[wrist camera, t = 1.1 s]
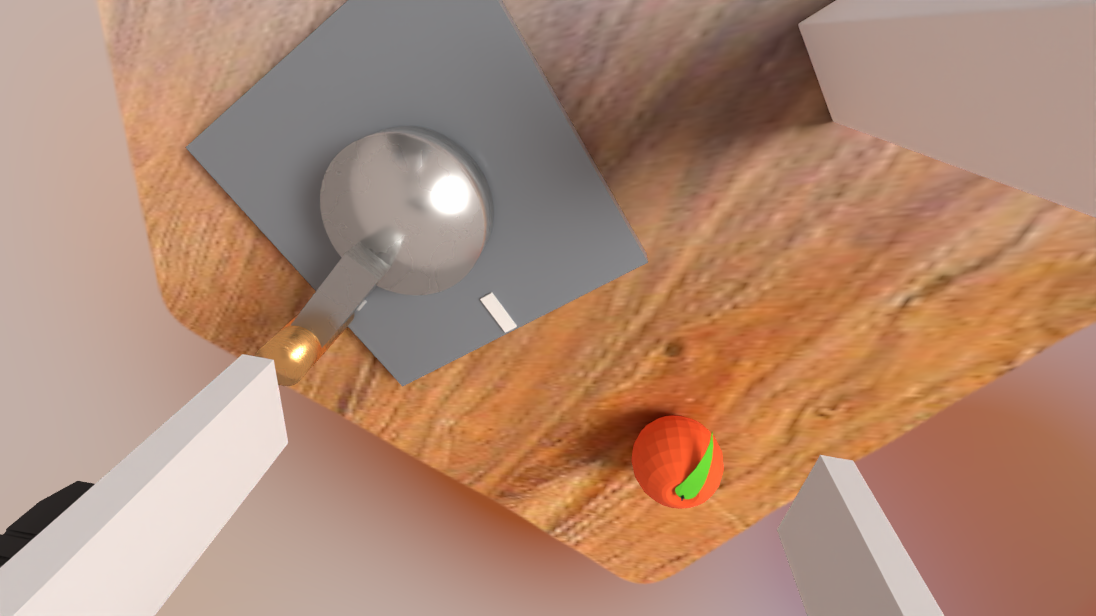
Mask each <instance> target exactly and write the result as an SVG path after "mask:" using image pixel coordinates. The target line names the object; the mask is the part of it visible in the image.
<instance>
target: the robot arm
mask: <svg viewBox="0 0 1096 616" xmlns="http://www.w3.org/2000/svg"><path fill="white" fill-rule="evenodd" d="M287 444H288V439H287V433H286V428H285V422H284V416H283V411H282V405H281V399H280V393H279V388H278V382H277V376H276V370H275V364H274V360H272V359H267V358H261V357H255V356H250V355H244V354H242V355H241V356H240V357H239V358H238V359H237V360H235V361H234V362H233V363H232V364H231V365H230V366H229V367H228V368H226V369H225V370H224V371H223V372H222V373H221V374H219V375H218V377H216V378H215V379H214V380H213V381H212V382H210V383H209V384H208V385H207V386H206V387H205V388H204V389H202V390H201V391H200V392H199V393H198V394H197V395H196V396H195V397H193V398H192V400H190V401H189V402H188V403H187V404H185V405H184V406H183V407H182V408H181V409H180V410H179V411H178V412H176V413H175V414H174V415H173V416H172V417H171V418H170V419H168V420H167V421H166V422H165V423H164V424H163V425H162V426H161V427H159V428H158V429H157V430H156V431H155V432H154V433H153V434H151V435H150V436H149V437H148V438H147V439H146V440H145V441H144V442H142V443H141V444H140V445H139V446H138V447H137V448H136V449H134V450H133V451H132V452H131V453H130V454H129V455H128V456H127V457H125V458H124V459H123V460H122V461H121V462H120V463H119V464H117V465H116V466H115V467H114V468H113V469H112V470H111V471H109V472H108V473H107V474H106V475H105V476H104V477H103V478H102V479H100V480H99V481H98V482H97V483H96V484H92V483H87V482H81V481H76V482H75V483H73V484H71V485H69V486H67V487H65V488H64V489H62V490H60V491H58V492H57V493H54V494H53V495H51V496H49V497H47V498H45V499H44V500H42V501H40V502H39V503H37V504H36V505H35V506H34V507H33V508H31V509H30V510H29V511H28V512H26V513H25V514H24V515H23V516H21V517H20V518H19V519H18V520H17V521H15V522H14V523H13V524H12V525H11V526H9V527H8V528H7V529H6V532H5V533H4V534H3V535H0V616H154V615H155V614H156V613H157V611H158V610H159V609H160V608H161V607H162V605H163V604H164V603H165V601H166V600H167V599H168V597H169V596H170V595H171V594H172V592H173V591H174V590H175V588H176V587H177V586H178V585H179V583H180V582H181V581H182V579H183V578H184V577H185V575H186V574H187V573H188V571H189V570H190V569H191V568H192V566H193V565H194V564H195V563H196V561H197V560H198V559H199V557H200V556H201V555H202V554H203V552H204V551H205V550H206V548H207V547H208V546H209V545H210V543H211V542H212V540H213V539H214V538H215V537H216V536H217V534H218V533H219V531H220V530H221V529H222V528H223V526H224V525H225V524H226V522H227V521H228V520H229V519H230V517H231V516H232V515H233V514H234V512H235V511H236V510H237V508H238V507H239V506H240V504H241V503H242V502H243V501H244V499H245V498H246V497H247V495H248V494H249V493H250V491H251V490H252V489H253V488H254V486H255V485H256V484H257V483H258V481H259V480H260V479H261V477H262V476H263V475H264V474H265V472H266V471H267V469H268V468H269V467H270V466H271V464H272V463H273V462H274V461H275V459H276V458H277V457H278V455H279V454H280V453H281V452H282V450H283V449H284V448H285V446H286V445H287ZM777 531H778V534H779V537H780V540H781V543H782V546H783V548H784V551H785V554H786V557H787V560H788V563H789V566H790V568H791V571H792V574H793V577H794V580H795V582H796V585H797V588H798V591H799V594H800V597H801V600H802V602H803V605H804V608H805V611H806V614H807V616H944V615H943V613H942V611H941V609H940V608H939V607H938V604H937V603H936V601H935V599H934V598H933V596H932V594H931V593H930V591H929V589H928V587H927V586H926V584H925V582H924V581H923V579H922V577H921V575H920V574H919V572H918V570H917V569H916V567H915V565H914V564H913V562H912V560H911V558H910V557H909V555H908V553H907V552H906V550H905V548H904V547H903V545H902V543H901V542H900V540H899V538H898V536H897V535H896V533H895V531H894V530H893V528H892V526H891V524H890V523H889V521H888V519H887V518H886V516H885V514H884V513H883V511H882V509H881V507H880V506H879V504H878V502H877V501H876V499H875V497H874V496H873V494H872V492H871V491H870V489H869V487H868V485H867V484H866V482H865V480H864V479H863V477H862V475H861V474H860V472H859V470H858V468H857V467H856V465H855V463H854V462H853V461H852V460H846V459H840V458H834V457H829V456H823V455H820V457H819V458H818V460H817V462H816V463H815V465H814V467H813V469H812V470H811V472H810V474H809V475H808V477H807V479H806V481H805V482H804V484H803V486H802V487H801V489H800V491H799V493H798V494H797V496H796V498H795V499H794V501H793V503H792V505H791V506H790V508H789V510H788V512H787V513H786V515H785V517H784V519H783V520H782V522H781V524H780V525H779V527H778V529H777Z"/></svg>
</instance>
